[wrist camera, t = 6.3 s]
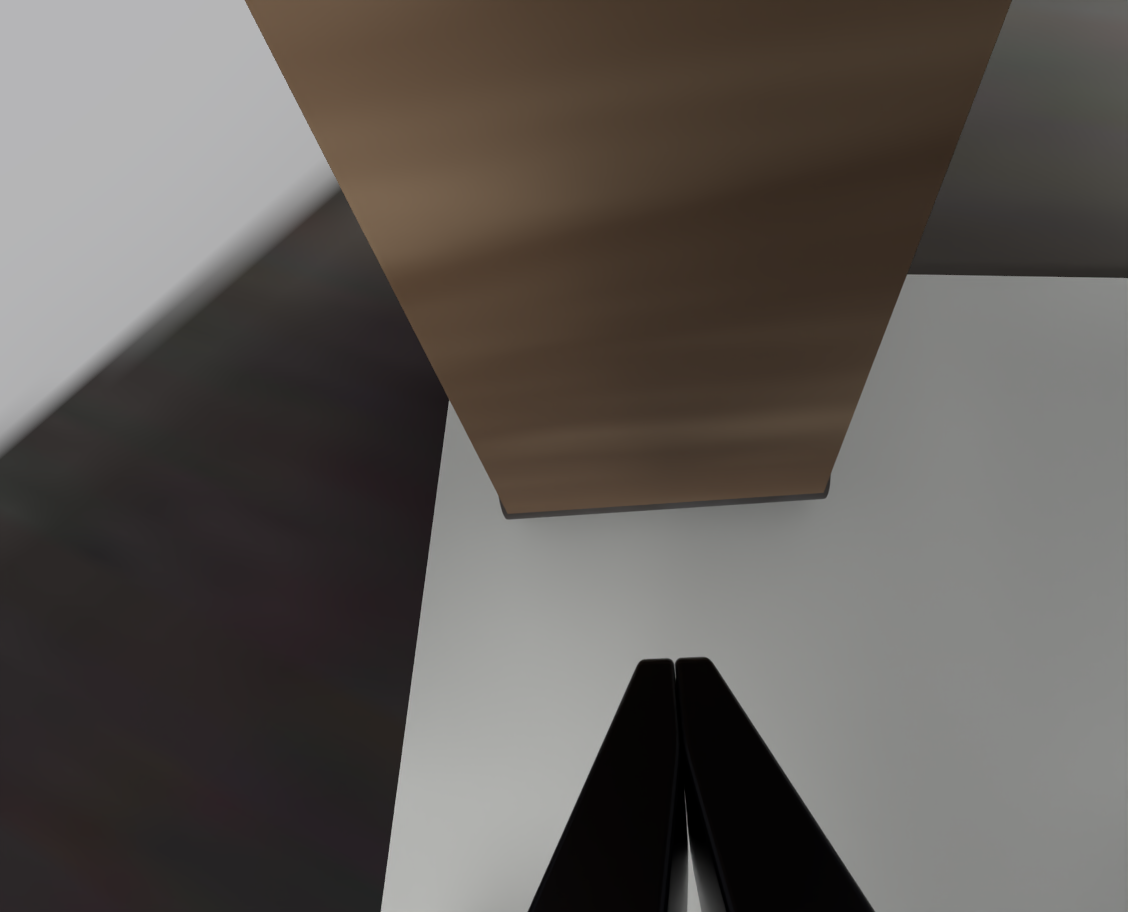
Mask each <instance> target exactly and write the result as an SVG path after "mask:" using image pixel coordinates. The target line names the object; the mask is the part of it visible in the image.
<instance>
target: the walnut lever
mask: <svg viewBox="0 0 1128 912" xmlns="http://www.w3.org/2000/svg"><path fill="white" fill-rule="evenodd" d="M245 1H246V3H247V5H248V8H249V9H250V11H251V13H252V15H253V17H254V19H255V21H256V23H257V25H258V27H259V29H260V31H261V33H262V35H263V37H264V39H265V41H266V43H267V45H268V46H269V49H270V50H271V52H272V54H273V56H274V58H275V60H276V62H277V64H278V66H279V68H280V70H281V72H282V74H283V76H284V78H285V79H286V82H287V84H288V86H289V88H290V90H291V91H292V93H293V95H294V97H295V99H296V101H297V103H298V105H299V107H300V109H301V111H302V113H303V115H304V117H305V119H306V121H307V123H308V124H309V127H310V128H311V131H312V133H313V134H314V136H315V138H316V140H317V142H318V144H319V146H320V148H321V150H322V152H323V154H324V156H325V158H326V160H327V162H328V164H329V166H330V168H331V170H332V172H333V174H334V175H335V177H336V179H337V181H338V183H339V185H340V187H341V189H342V191H343V193H344V195H345V197H346V199H347V201H348V203H349V205H350V207H351V209H352V211H353V213H354V215H355V216H356V218H357V220H358V222H359V224H360V226H361V228H362V230H363V232H364V234H365V236H366V238H367V240H368V242H369V244H370V246H371V248H372V250H373V252H374V254H375V256H376V258H377V259H378V261H379V263H380V265H381V267H382V269H383V271H384V273H385V275H386V277H387V279H388V281H389V283H390V285H391V287H392V289H393V291H394V293H395V295H396V297H397V299H398V300H399V302H400V304H401V306H402V308H403V310H404V312H405V314H406V316H407V318H408V320H409V322H410V324H411V326H412V328H413V330H414V332H415V334H416V336H417V338H418V340H419V341H420V343H421V345H422V347H423V349H424V351H425V353H426V355H427V357H428V359H429V361H430V363H431V365H432V367H433V369H434V371H435V373H436V375H437V377H438V379H439V381H440V383H441V384H442V386H443V388H444V390H445V392H446V394H447V396H448V398H449V400H450V402H451V404H452V406H453V408H454V410H455V412H456V414H457V416H458V418H459V420H460V422H461V424H462V425H463V427H464V429H465V431H466V433H467V435H468V437H469V439H470V441H471V443H472V445H473V447H474V449H475V451H476V453H477V455H478V457H479V459H480V461H481V463H482V465H483V466H484V468H485V470H486V472H487V474H488V476H489V478H490V480H491V482H492V484H493V486H494V488H495V490H496V492H497V494H498V496H499V502H500V506H501V510H502V513H503V515H504V517H505V518H506V519H507V520H511V519H526V518H541V517H556V516H572V515H587V514H602V513H618V512H633V511H648V510H663V509H679V508H694V507H709V506H724V505H740V504H755V503H770V502H785V501H801V500H816V499H825V498H826V497H827V495H828V492H829V488H830V479H831V472H832V469H833V467H834V464H835V462H836V459H837V456H838V454H839V451H840V448H841V446H842V443H843V441H844V438H845V435H846V433H847V430H848V428H849V425H850V422H851V420H852V417H853V414H854V412H855V409H856V407H857V404H858V401H859V399H860V396H861V394H862V391H863V388H864V386H865V383H866V380H867V378H868V375H869V373H870V370H871V367H872V365H873V362H874V360H875V357H876V354H877V352H878V349H879V346H880V344H881V341H882V339H883V336H884V333H885V331H886V328H887V326H888V323H889V320H890V318H891V315H892V312H893V310H894V307H895V305H896V302H897V299H898V297H899V294H900V292H901V289H902V286H903V284H904V281H905V279H906V276H907V273H908V271H909V268H910V265H911V263H912V260H913V258H914V255H915V252H916V250H917V247H918V245H919V242H920V239H921V237H922V234H923V231H924V229H925V226H926V224H927V221H928V218H929V216H930V213H931V211H932V208H933V205H934V203H935V200H936V197H937V195H938V192H939V190H940V187H941V184H942V182H943V179H944V177H945V174H946V171H947V169H948V166H949V163H950V161H951V158H952V156H953V153H954V150H955V148H956V145H957V143H958V140H959V137H960V135H961V132H962V130H963V127H964V124H965V122H966V119H967V116H968V114H969V111H970V109H971V106H972V103H973V101H974V98H975V96H976V93H977V90H978V88H979V85H980V82H981V80H982V77H983V75H984V72H985V69H986V67H987V64H988V62H989V59H990V56H991V54H992V51H993V48H994V46H995V43H996V41H997V38H998V35H999V33H1000V30H1001V28H1002V25H1003V22H1004V20H1005V17H1006V14H1007V12H1008V9H1009V7H1010V4H1011V1H1012V0H245Z"/></svg>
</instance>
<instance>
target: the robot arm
mask: <svg viewBox="0 0 1128 912" xmlns="http://www.w3.org/2000/svg"><path fill="white" fill-rule="evenodd" d="M675 675H676V677H675ZM685 801H686V804H685ZM686 814H687V818H686ZM687 826H688V833H687ZM688 836H689V845H690V853H691V859H692V865H693V871H694V876H695V881H696V886H697V891H698V897H699V902H700V907H701V912H875V911H874V909H873V907H872V906H871V904H870V903H869V901H868V900H867V898H866V897H865V895H864V894H863V892H862V891H861V889H860V887H859V886H858V884H857V883H856V881H855V880H854V878H853V877H852V875H851V874H850V872H849V871H848V869H847V868H846V866H845V864H844V863H843V861H842V860H841V858H840V857H839V855H838V854H837V852H836V851H835V849H834V848H833V846H832V845H831V843H830V841H829V840H828V838H827V837H826V835H825V834H824V832H823V831H822V829H821V828H820V826H819V825H818V823H817V821H816V820H815V818H814V817H813V815H812V814H811V812H810V811H809V809H808V808H807V806H806V805H805V803H804V802H803V800H802V798H801V797H800V795H799V794H798V792H797V791H796V789H795V788H794V786H793V785H792V783H791V782H790V780H789V778H788V777H787V775H786V774H785V772H784V771H783V769H782V768H781V766H780V765H779V763H778V762H777V760H776V759H775V757H774V755H773V754H772V752H771V751H770V749H769V748H768V746H767V745H766V743H765V742H764V740H763V739H762V737H761V735H760V734H759V732H758V731H757V729H756V728H755V726H754V725H753V723H752V722H751V720H750V719H749V717H748V716H747V714H746V712H745V711H744V709H743V708H742V706H741V705H740V703H739V702H738V700H737V699H736V697H735V696H734V694H733V693H732V691H731V689H730V688H729V686H728V685H727V683H726V682H725V680H724V679H723V677H722V676H721V674H720V673H719V671H718V669H717V668H716V666H715V665H714V663H713V662H712V661H711V660H710V659H709V658H707V657H685V658H678V659H677V660H676V662H675V666H674V662H673V661H672V660H671V659H669V658H659V659H643V660H641V661H640V662H639V663H638V664H637V666H636V668H635V670H634V673H633V675H632V677H631V679H630V682H629V684H628V686H627V688H626V691H625V693H624V695H623V697H622V700H621V702H620V704H619V706H618V709H617V711H616V713H615V716H614V718H613V720H612V722H611V725H610V727H609V729H608V731H607V734H606V736H605V738H604V740H603V743H602V745H601V747H600V749H599V752H598V754H597V756H596V758H595V761H594V763H593V765H592V767H591V770H590V772H589V774H588V776H587V779H586V781H585V783H584V785H583V788H582V790H581V792H580V794H579V797H578V799H577V801H576V803H575V806H574V808H573V810H572V812H571V815H570V817H569V819H568V822H567V824H566V826H565V828H564V831H563V833H562V835H561V837H560V840H559V842H558V844H557V846H556V849H555V851H554V853H553V855H552V858H551V860H550V862H549V864H548V867H547V869H546V871H545V873H544V876H543V878H542V880H541V882H540V885H539V887H538V889H537V891H536V894H535V896H534V898H533V900H532V903H531V905H530V907H529V909H528V912H687V902H688Z"/></svg>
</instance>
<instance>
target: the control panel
mask: <svg viewBox="0 0 1128 912" xmlns="http://www.w3.org/2000/svg"><path fill="white" fill-rule="evenodd" d="M685 657H707V658H709V659H710V660H711V661H712V662H713V663H714V665H715V666H716V668H717V669H718V671H719V673H720V674H721V676H722V677H723V679H724V680H725V682H726V683H727V685H728V686H729V688H730V689H731V691H732V693H733V694H734V696H735V697H736V699H737V700H738V702H739V703H740V705H741V706H742V708H743V709H744V711H745V712H746V714H747V716H748V717H749V719H750V720H751V722H752V723H753V725H754V726H755V728H756V729H757V731H758V732H759V734H760V735H761V737H762V739H763V740H764V742H765V743H766V745H767V746H768V748H769V749H770V751H771V752H772V754H773V755H774V757H775V759H776V760H777V762H778V763H779V765H780V766H781V768H782V769H783V771H784V772H785V774H786V775H787V777H788V778H789V780H790V782H791V783H792V785H793V786H794V788H795V789H796V791H797V792H798V794H799V795H800V797H801V798H802V800H803V802H804V803H805V805H806V806H807V808H808V809H809V811H810V812H811V814H812V815H813V817H814V818H815V820H816V821H817V823H818V825H819V826H820V828H821V829H822V831H823V832H824V834H825V835H826V837H827V838H828V840H829V841H830V843H831V845H832V846H833V848H834V849H835V851H836V852H837V854H838V855H839V857H840V858H841V860H842V861H843V863H844V864H845V866H846V868H847V869H848V871H849V872H850V874H851V875H852V877H853V878H854V880H855V881H856V883H857V884H858V886H859V887H860V889H861V891H862V892H863V894H864V895H865V897H866V898H867V900H868V901H869V903H870V904H871V906H872V907H873V909H874V911H875V912H1128V278H1091V277H1031V276H971V275H911V274H907V276H906V279H905V281H904V284H903V286H902V289H901V292H900V294H899V297H898V299H897V302H896V305H895V307H894V310H893V312H892V315H891V318H890V320H889V323H888V326H887V328H886V331H885V333H884V336H883V339H882V341H881V344H880V346H879V349H878V352H877V354H876V357H875V360H874V362H873V365H872V367H871V370H870V373H869V375H868V378H867V380H866V383H865V386H864V388H863V391H862V394H861V396H860V399H859V401H858V404H857V407H856V409H855V412H854V414H853V417H852V420H851V422H850V425H849V428H848V430H847V433H846V435H845V438H844V441H843V443H842V446H841V448H840V451H839V454H838V456H837V459H836V462H835V464H834V467H833V469H832V472H831V479H830V488H829V492H828V495H827V497H826V498H825V499H816V500H801V501H785V502H770V503H755V504H740V505H724V506H709V507H694V508H679V509H663V510H648V511H633V512H618V513H602V514H587V515H572V516H556V517H541V518H526V519H511V520H507V519H506V518H505V517H504V515H503V513H502V510H501V506H500V502H499V496H498V494H497V492H496V490H495V488H494V486H493V484H492V482H491V480H490V478H489V476H488V474H487V472H486V470H485V468H484V466H483V465H482V463H481V461H480V459H479V457H478V455H477V453H476V451H475V449H474V447H473V445H472V443H471V441H470V439H469V437H468V435H467V433H466V431H465V429H464V427H463V425H462V424H461V422H460V420H459V418H458V416H457V414H456V412H455V410H454V408H453V406H452V404H451V402H450V400H449V405H448V413H447V420H446V428H445V435H444V443H443V450H442V458H441V465H440V473H439V480H438V488H437V495H436V503H435V510H434V518H433V525H432V533H431V540H430V548H429V555H428V563H427V570H426V578H425V585H424V593H423V600H422V608H421V615H420V623H419V630H418V638H417V645H416V653H415V660H414V668H413V675H412V683H411V690H410V698H409V705H408V713H407V720H406V728H405V735H404V743H403V750H402V758H401V765H400V773H399V780H398V787H397V795H396V802H395V810H394V817H393V825H392V832H391V840H390V847H389V855H388V862H387V870H386V877H385V885H384V892H383V900H382V907H381V912H528V909H529V907H530V905H531V903H532V900H533V898H534V896H535V894H536V891H537V889H538V887H539V885H540V882H541V880H542V878H543V876H544V873H545V871H546V869H547V867H548V864H549V862H550V860H551V858H552V855H553V853H554V851H555V849H556V846H557V844H558V842H559V840H560V837H561V835H562V833H563V831H564V828H565V826H566V824H567V822H568V819H569V817H570V815H571V812H572V810H573V808H574V806H575V803H576V801H577V799H578V797H579V794H580V792H581V790H582V788H583V785H584V783H585V781H586V779H587V776H588V774H589V772H590V770H591V767H592V765H593V763H594V761H595V758H596V756H597V754H598V752H599V749H600V747H601V745H602V743H603V740H604V738H605V736H606V734H607V731H608V729H609V727H610V725H611V722H612V720H613V718H614V716H615V713H616V711H617V709H618V706H619V704H620V702H621V700H622V697H623V695H624V693H625V691H626V688H627V686H628V684H629V682H630V679H631V677H632V675H633V673H634V670H635V668H636V666H637V664H638V663H639V662H640V661H641V660H643V659H659V658H669V659H671V660H672V661H673V662H674V666H675V662H676V660H677V659H678V658H685ZM675 677H676V675H675ZM685 804H686V801H685ZM686 818H687V814H686ZM687 833H688V826H687ZM687 912H701V907H700V902H699V897H698V891H697V886H696V881H695V876H694V871H693V865H692V859H691V853H690V845H689V836H688V902H687Z"/></svg>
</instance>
